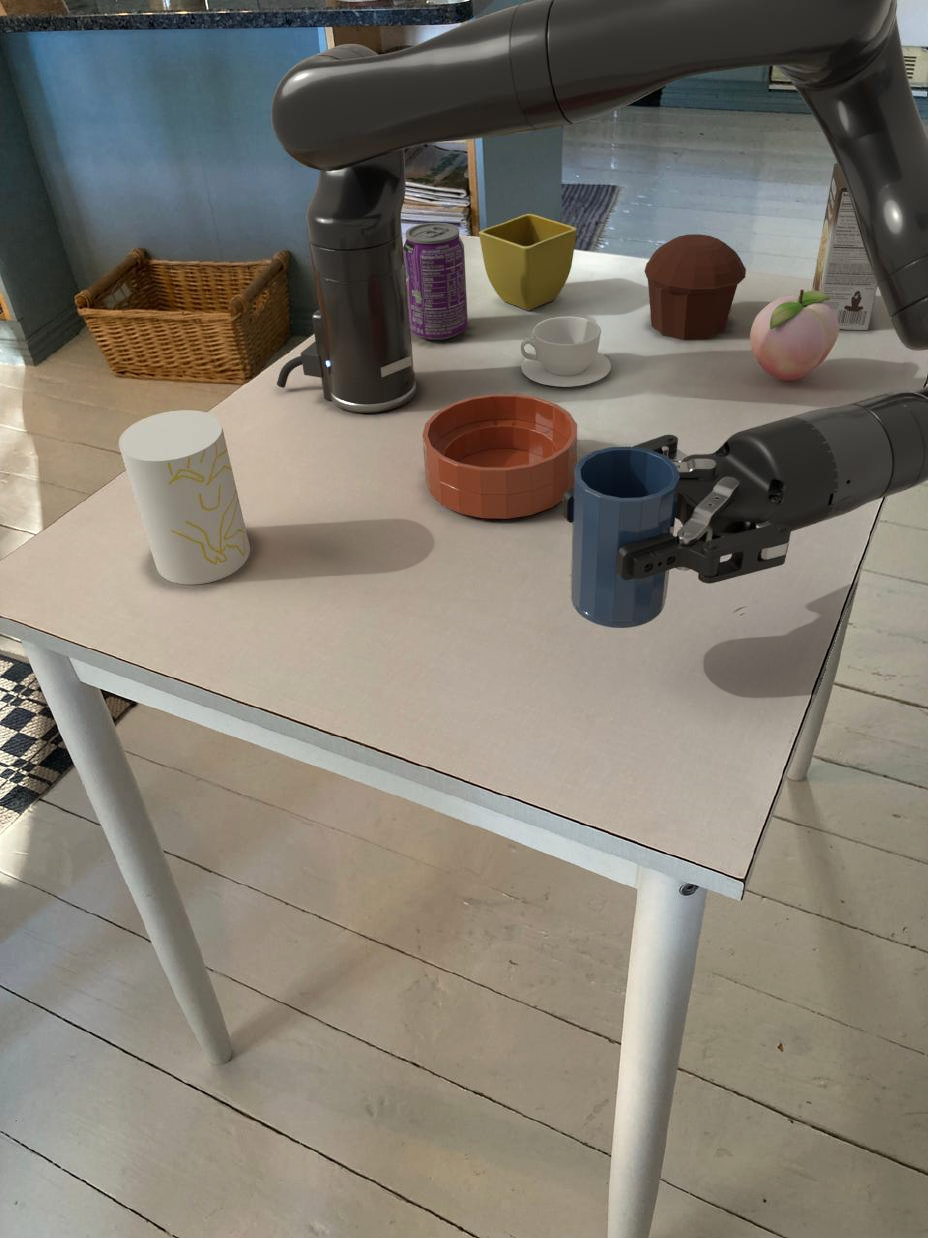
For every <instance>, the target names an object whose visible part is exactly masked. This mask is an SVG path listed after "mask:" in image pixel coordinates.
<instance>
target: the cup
mask: <svg viewBox="0 0 928 1238" xmlns="http://www.w3.org/2000/svg"><path fill="white" fill-rule="evenodd" d="M118 447H119V451H120V454H121V457H122V461H123V464H124V466H125V470H126V473H127V476H128V479H129V480H128V481H129V483H130V487H131V490H132V493H133V496H134V500H135V502H136V503H135V504H136V507H137V509H138V512H139V515H140V519H141V522H142V525H143V529H144V532H145V536H146V539H147V541H148V545H149V548H150V552H151V555H152V558H153V561H154V565H155V567H156V568H155V569H156V570H157V572H158V574H159V575H160V576H161V577H162V578H163V579H165V580H166V581H168V582H171V583H174V584H178V585H179V584H180V585H186V586H187V585H189V586H192V585H193V586H195V585H203V584H210V583H213V582H216V581H219V580H222V579H225V578H226V577H228V576H231V575H232V574H234V573H235V572H236V571H238V570H240V569H241V568H242V567H243V566H244V565H245V563H246V562H247V561H248V559H249V556H250V554H251V545H250V542H249V537H248V533H247V529H246V524H245V520H244V517H243V511H242V508H241V503H240V498H239V494H238V490H237V485H236V480H235V476H234V473H233V467H232V463H231V460H230V459H231V458H230V455H229V449H228V446H227V442H226V436H225V433H224V428H223V424H222V423H221V421H220V419H219V418H218V417H216V416H215V415H213V414H211V413H208V412H205V411H202V410H193V409H192V410H191V409H179V410H170V411H164V412H160V413H156V414H152V415H150V416H147V417H145V418H143V419H140V420H138V421H136V422H135V423H133V424H131V425H130V426H129V427H128V428H126V429H125V430H124V431H123V432H122V434H121V435H120V437H119V439H118Z"/></svg>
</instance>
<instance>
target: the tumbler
mask: <svg viewBox="0 0 928 1238" xmlns="http://www.w3.org/2000/svg"><path fill="white" fill-rule="evenodd" d="M679 479H680V476H679V473H678V469H677V466H676V465H675V464H674V463H673V462H672V461H671V460H670V459H668V458H667V457H666V456H664V455H661V454H659V453H657V452H655V451H652V450H649V449H643V448H638V447H632V446H631V445H630V446H610V447H606V448H602V449H598V450H594V451H592V452H590V453H589V454H587V455H585V456H583V457H582V458H580V459H579V461H578V462H577V463H576V467H575V469H574V490H573V523H571V525H572V526H571V528H572V529H571V560H570V601H571V604H572V606H573V608H574V610H575V611H576V612H577V613H578V614H579V615H580V616H581V617H582V618H584V619H586V620H587V621H588V622H591V623H593V624H595V625H598V626H603V627H607V628H614V629H629V628H630V629H631V628H635V627H641V626H643V625H646V624H648V623H650V622H652V621H654V620H655V619H656V618H657V617H658V616H659V615H661V614H662V611H663V610H664V608H665V605H666V599H667V597H668V587H669V580H670V579H669V578H670V570H667V571H664V572H661V573H657V574H655V575H651V576H649V577H646V578H641V579H634V578H633V579H630V580H623V579H622V578H621V577H620V576H619V575H618V574H617V572H616V564H617V553H618V551H619V549H620V548H621V547H623V546H625V545H628V544H631V543H634V542H638V541H641V540H644V539H647V538H651V537H654V536H657V535H660V534H663V533H666V532H670V533H672V534H673V535H674V534H675V522H676V518H675V515H676V506H677V497H678V488H679Z"/></svg>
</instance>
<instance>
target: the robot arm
mask: <svg viewBox="0 0 928 1238" xmlns="http://www.w3.org/2000/svg"><path fill="white" fill-rule="evenodd" d="M897 10H898V0H532V1H528V2H524V3H520V4H516V5H513V6H510V7H507V8H506V7H505V8H503V9H501V10H498V11H495V12H492V13H489V14H486V15H483V16H481V17H478V18H475V19H473V20H471V21H468V22H466V23H463V24H461V25H459V26H456V27H454V28H451V29H449V30H447V31H445V32H443V33H441V34H438V35H435V36H433V37H431V38H429V39H427V40H425V41H423V42H421V43H418V44H415V45H413V46H410V47H407V48H403V49H400V50H397V51H393V52H388V53H384V54H383V53H382V54H378V53H377V52H376V51H374V50H372V49H371V48H369V47H367V46H365V45H362V44H357V43H345V44H339V45H336V46H332V47H331V48H328V49H325V50H324V51H321V52H319V53H316V54H314V55H311V56H309V57H307V58H305V59H302V60H301V61H299V62H298V63H296V64H295V65H294V66H291V68H290V69H289V70H288V71H287V72H286V74H284V76H283V77H282V78H281V79H280V81H279V83H278V84H277V87H276V89H275V90H274V93H273V95H272V100H271V106H270V122H271V127H272V131H273V133H274V136H275V137H276V140H277V141H278V143H279V144H280V146H281V147H282V149H283V150H284V151H285V152H286V153H287V154H288V155H289V156H290V157H291V158H292V159H294V160H295V161H297V162H298V163H299V164H300V165H301V164H302V165H304V166H306V167H307V168H309V169H314V170H317V171H318V177H317V178H318V179H317V183H316V187H315V190H314V192H313V194H312V197H311V199H310V201H309V202H308V205H307V207H306V211H305V224H306V231H307V238H308V243H309V244H308V245H309V250H310V257H311V265H312V271H313V277H314V284H315V291H316V298H317V305H318V310H316V311H315V312H314V313H313V314H312V315H311V316H312V318H311V321H312V328H313V334H314V340H315V341H314V342H312V343H311V344H310V345H308V346H307V347H306V348H304V350H302V351H301V352H300V355H299V356H296V357H294V358H292V359H290V360H288V361H287V362H286V363H285V364H283V366H282V368H281V369H280V371H279V375H278V378H277V381H276V385H277V386H278V387H279V388H283V389H284V388H286V386H287V382H288V379H289V376H290V374H291V372H292V371H293V370H294V369H296V368H297V367H300V366H302V371H303V374H304V376H308V377H314V378H320V380H321V386H322V394H323V399H324V400H327V401H332V403H333V404H334V405H336V406H337V407H338V408H341V409H342V410H345V411H349V412H353V413H354V412H355V413H363V414H364V413H366V414H367V413H368V414H369V413H379V412H385V411H389V410H390V411H391V410H394V409H396V408H399V407H402V406H403V405H405V404H407V403H408V402H410V401H411V400H412V399H413V398H414V397H415V395H416V393H417V381H416V380H417V379H416V375H415V373H416V372H415V368H414V367H415V366H414V356H413V355H414V354H413V344H412V332H411V331H410V319H409V308H408V296H407V285H406V273H405V262H404V251H403V247H404V241H403V232H402V231H403V230H402V229H403V228H402V210H403V206H404V203H405V198H406V185H407V184H406V183H407V181H406V179H407V177H406V159H405V158H406V157H405V155H406V154H405V150H406V149H410V148H413V147H418V146H423V145H428V144H435V143H445V142H446V143H447V142H456V141H467V140H477V139H484V138H492V137H501V136H507V135H515V134H523V133H530V132H536V131H543V130H548V129H549V130H550V129H553V128H560V127H564V126H570V125H575V124H580V123H584V122H588V121H592V120H595V119H598V118H601V117H605V116H607V115H610V114H611V113H614V112H616V111H619V110H622V109H623V108H624V107H627V106H629V105H631V104H633V103H634V102H637V101H639V100H640V99H643V98H644V97H646V96H648V95H650V94H652V93H653V92H655V91H657V90H660V89H662V88H664V87H666V86H668V85H671V84H673V83H675V82H677V81H680V80H684V79H687V78H691V77H694V76H699V75H703V74H708V73H715V72H723V71H728V70H729V71H730V70H737V69H738V70H739V69H749V68H757V67H758V68H759V67H776V68H777V69H778V70H779V72H780V73H781V74H782V75H783V76H785V77H786V78H788V79H789V80H790V82H791V83H792V84H793V86H794V88H795V89H796V91H797V92H798V94H799V96H800V97H801V98H802V100H803V102H804V103H805V105H806V107H807V108H808V109H809V111H810V113H811V114H812V116H813V118H814V120H816V122H817V124H818V126H819V128H820V129H821V131H822V134H823V135H824V137H825V139H826V141H827V143H828V145H829V148H830V149H831V151H832V154H833V156H834V158H835V161H836V163H838V166H839V168H840V171H841V173H842V176H843V179H844V182H845V185H846V188H847V191H848V194H849V198H850V201H851V205H852V208H853V212H854V216H855V219H856V223H857V226H858V230H859V233H860V237H861V240H862V243H863V246H864V250H865V253H866V256H867V259H868V262H869V264H870V267H871V270H872V273H873V275H874V278H875V281H876V283H877V285H878V287H877V289H878V290H879V293H880V295H881V298H882V301H883V303H884V306H885V308H886V311H887V313H888V316H889V317H890V321H891V323H892V326H893V328H894V331H895V333H896V335H897V337H898V339H899V341H900V343H901V344H902V345H903V347H905V348H906V349H909V350H911V351H916V352H917V351H918V352H919V351H921V352H922V351H928V132H927V130H926V128H925V125H924V122H923V120H922V118H921V115H920V112H919V109H918V106H917V103H916V100H915V98H914V94H913V90H912V87H911V83H910V79H909V76H908V72H907V67H906V61H905V57H904V51H903V45H902V41H901V35H900V34H901V33H900V29H899V24H898V23H899V22H898V19H897ZM678 443H679V438H678V437H677V436H676V435H675V434H664V435H661V436H658V437H655V438H653V439H649V440H647V441H644V442H641V443H638V444H636V445H632V446H631V447H638V448H643V449H649V450H652V451H655V452H657V453H659V454H661V455H664V456H666V457H667V458H668V459H670V460H671V461H672V462H673V463H674V464H675V465H676V466H677V469H678V473H679V476H680V479H679V488H678V497H677V506H676V515H675V520H678V521H680V523H681V525H682V526H681V527H680V528H679V529H678V531H677V532H676V536H675V535H674V534H672V533H670V532H666V533H663V534H660V535H657V536H654V537H651V538H647V539H644V540H641V541H638V542H634V543H631V544H628V545H625V546H623V547H621V548H620V549H619V551H618V553H617V564H616V572H617V574H618V575H619V576H620V577H621V578H622V579H623V580H630V579H633V578H634V579H641V578H646V577H649V576H651V575H655V574H657V573H661V572H664V571H667V570H669V571H670V570H673V569H676V570H678V571H683V572H687V571H691V570H692V571H694V572H695V573H698V574H697V579H698V580H699V581H700V582H701V583H703V584H709V585H710V584H715V583H719V582H722V581H723V582H724V581H727V580H731V579H734V578H738V577H741V576H745V575H749V574H754V573H757V572H760V571H764V570H768V569H772V568H776V567H780V566H782V565H784V564H785V563H786V559H787V554H788V551H789V547H790V546H789V545H790V539H791V533H792V532H795V531H798V530H801V529H803V528H807V527H810V526H812V525H815V524H818V523H819V524H820V523H821V522H824V521H828V520H831V519H834V518H837V517H840V516H843V515H845V514H849V513H851V512H852V511H855V510H857V509H859V508H861V507H863V506H864V505H866V504H869V503H871V502H874V501H877V500H880V499H883V498H886V497H890V496H892V495H896V494H898V493H899V494H900V493H901V492H904V491H907V490H910V489H912V488H915V487H917V486H919V485H921V484H924V483H925V482H927V481H928V385H927V386H924V387H921V388H918V389H916V390H913V391H907V390H904V391H902V390H901V391H892V392H887V393H883V394H877V395H874V396H872V397H868V398H865V399H861V400H858V401H854V402H850V403H848V404H843V405H839V406H829V407H823V408H818V409H814V410H813V409H812V410H810V411H806V412H802V413H800V414H796V415H793V416H788V417H785V418H782V419H779V420H775V421H771V422H769V423H768V422H767V423H765V424H761V425H757V426H754V427H751V428H748V429H744V430H741V431H737V432H735V433H734V434H732V435H730V436H729V437H728V438H727V440H726V441H724V443H723V444H722V445H721V446H720V447H719V448H718V449H717V450H716V451H714V452H712V453H704V454H703V453H702V454H701V453H699V454H698V453H696V454H689V455H687V454H686V453H685V452H683V451H681V450H680V449H678V445H679V444H678ZM573 490H574V487H572V488H571V489H569V490H568V491H566V492H565V493H564V495H563V499H562V500H561V501H562V502H561V503H562V504H561V505H562V506H561V514H562V517H563V518H564V519H565V520H566V521H567V522H568V523H569V524H573ZM729 555H731V556H730V557H729V559H727V560H723V561H721V557H724V556H729Z"/></svg>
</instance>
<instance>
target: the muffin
mask: <svg viewBox="0 0 928 1238" xmlns="http://www.w3.org/2000/svg"><path fill="white" fill-rule="evenodd" d="M643 272H644V274H645V277H646V278H647V286H648V287H647V288H648V301H649V312H650V313H649V314H650V323H651V324H650V325H651V327H652V328H653V329H655V330H656V331H657V332H658V333H660V335H662V336H665V337H671V338H675V339H679V340H683V341H688V340H708V339H710V338H712V337H714V336H716V335H720V334H723V333H724V332H725V330H726V326H727V323H728V320H729V316H730V312H731V309H732V306H733V302H734V298H735V296H736V291H737V288H738V285H739V284H740V283H741V282H742V281H744V280H745V278H746V275H747V268H746V266H745V265H744V263H743V261H742V259H741V257H740V256H739V254H738V252H737V251H735V250H734V248H732V247H731V246H730V245H728V244H727V243H725V242H724V241H722V240H721V239H720V238H717V237H714V236H712V235H707V234H700V233H698V234H693V233H692V234H684V235H679V236H676V237H673V238H672V239H670V240H669V241H667V242H665V243H664V244H662V245H660V246H659V247H658V248H657V249H655V251H654V252H653V253H652V255H651V257H650V258H649V260H648V261H647V262H646V264H645V267H644V271H643Z"/></svg>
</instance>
